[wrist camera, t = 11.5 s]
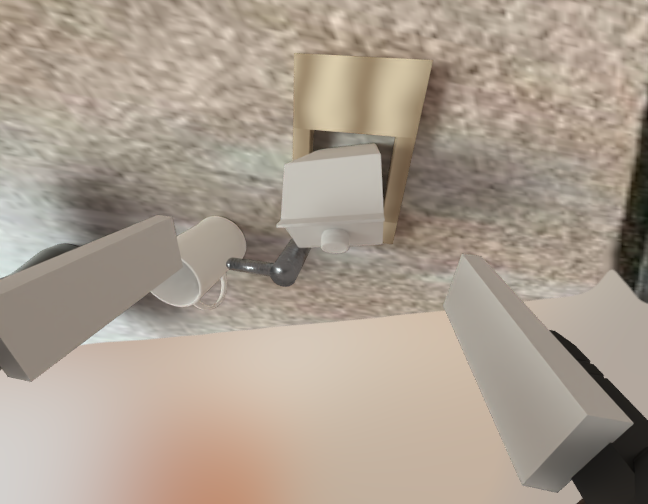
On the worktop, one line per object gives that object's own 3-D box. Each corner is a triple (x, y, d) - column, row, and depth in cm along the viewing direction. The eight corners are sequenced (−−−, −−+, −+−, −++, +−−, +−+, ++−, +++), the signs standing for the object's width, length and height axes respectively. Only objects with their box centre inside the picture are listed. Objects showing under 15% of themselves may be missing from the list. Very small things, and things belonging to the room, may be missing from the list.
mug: (258, 278, 43) (221, 328, 32) (214, 281, 45) (166, 328, 34) (237, 212, 38) (186, 245, 27) (189, 218, 40) (123, 251, 29)
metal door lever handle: (279, 227, 38) (226, 286, 24) (279, 198, 36) (220, 244, 22) (330, 233, 37) (306, 299, 23) (332, 204, 35) (308, 256, 21)
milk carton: (319, 149, 32) (264, 171, 15) (375, 142, 31) (383, 159, 14) (325, 203, 35) (285, 272, 18) (376, 199, 34) (385, 270, 17)
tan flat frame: (296, 224, 37) (291, 231, 35) (300, 59, 28) (294, 53, 26) (391, 237, 36) (392, 244, 33) (427, 65, 27) (433, 60, 24)
